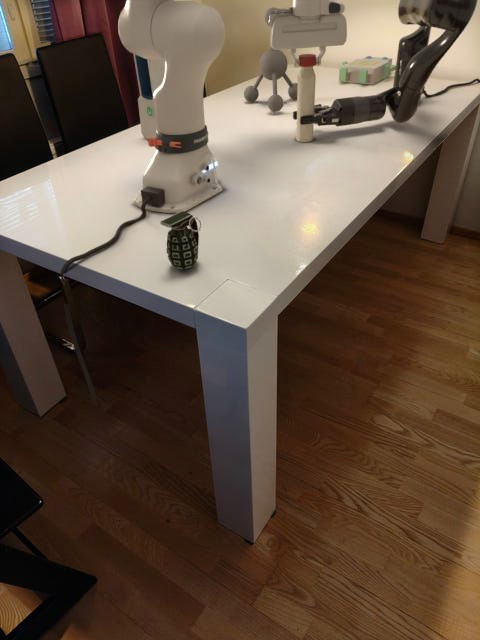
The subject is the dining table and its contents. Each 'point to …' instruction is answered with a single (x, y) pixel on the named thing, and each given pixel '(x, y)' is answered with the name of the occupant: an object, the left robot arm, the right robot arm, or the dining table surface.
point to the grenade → (182, 240)
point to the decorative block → (366, 70)
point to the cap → (307, 60)
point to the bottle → (305, 102)
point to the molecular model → (272, 75)
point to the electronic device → (148, 92)
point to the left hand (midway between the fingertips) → (307, 65)
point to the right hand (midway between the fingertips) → (297, 118)
